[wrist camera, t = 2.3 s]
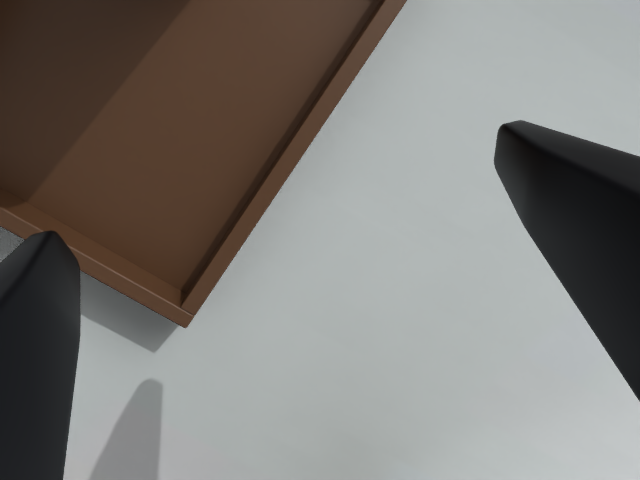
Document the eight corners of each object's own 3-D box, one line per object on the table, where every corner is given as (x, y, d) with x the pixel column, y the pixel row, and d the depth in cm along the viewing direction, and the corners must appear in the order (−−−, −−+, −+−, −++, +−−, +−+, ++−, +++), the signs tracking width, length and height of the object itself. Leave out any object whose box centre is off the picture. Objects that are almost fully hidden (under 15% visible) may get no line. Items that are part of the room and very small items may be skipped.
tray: (192, 310, 22) (185, 329, 20) (-106, 142, 19) (-150, 144, 17) (429, -43, 20) (449, -63, 17) (136, -303, 16) (119, -363, 14)
